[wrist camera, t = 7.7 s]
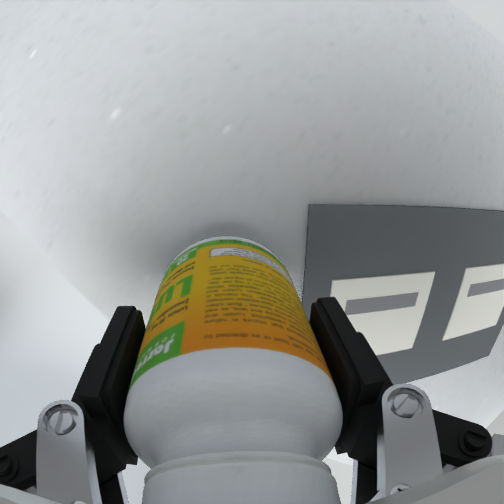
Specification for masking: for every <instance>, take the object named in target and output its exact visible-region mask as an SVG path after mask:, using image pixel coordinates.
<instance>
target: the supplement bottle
mask: <svg viewBox="0 0 504 504" xmlns="http://www.w3.org/2000/svg"><path fill="white" fill-rule="evenodd" d="M123 420H124V429H125V433H126V437H127V440H128V442H129V444H130V446H131V447H132V449H133V450H134V452H135V453H136V455H137V456H138V457H139V458H140V459H141V460H142V461H143V462H144V463H145V464H146V465H147V466H148V467H150V468H151V470H150V471H149V472H148V473H147V474H146V476H145V479H144V480H145V481H144V482H145V486H144V490H143V498H142V504H341V502H340V498H339V494H338V490H337V483H336V480H335V478H334V477H333V476H332V475H331V470H330V468H329V466H328V465H327V464H325V463H324V462H322V460H323V459H324V458H325V457H326V456H327V455H328V454H329V453H330V451H331V450H332V449H333V447H334V445H335V444H336V442H337V440H338V438H339V435H340V432H341V428H342V423H343V413H342V406H341V402H340V399H339V396H338V393H337V390H336V386H335V384H334V381H333V379H332V376H331V374H330V371H329V369H328V366H327V363H326V361H325V359H324V357H323V354H322V352H321V349H320V347H319V344H318V342H317V339H316V338H315V335H314V333H313V330H312V328H311V325H310V323H309V321H308V319H307V316H306V314H305V311H304V309H303V306H302V304H301V302H300V299H299V297H298V295H297V292H296V290H295V287H294V285H293V282H292V280H291V278H290V275H289V273H288V271H287V269H286V268H285V266H284V264H283V263H282V262H281V260H280V259H279V258H278V257H277V256H276V255H275V254H274V253H273V252H271V251H270V250H269V249H267V248H266V247H264V246H263V245H261V244H259V243H257V242H254V241H252V240H249V239H245V238H241V237H235V236H220V237H212V238H207V239H204V240H201V241H199V242H196V243H194V244H192V245H190V246H189V247H187V248H186V249H184V250H183V251H182V252H181V253H179V254H178V255H177V256H176V257H175V259H174V260H173V261H172V262H171V264H170V265H169V267H168V268H167V270H166V272H165V274H164V277H163V279H162V282H161V284H160V287H159V290H158V294H157V297H156V300H155V303H154V306H153V309H152V312H151V315H150V318H149V321H148V325H147V327H146V330H145V334H144V337H143V341H142V344H141V347H140V351H139V354H138V358H137V362H136V365H135V368H134V372H133V376H132V380H131V383H130V386H129V390H128V394H127V398H126V405H125V410H124V419H123Z"/></svg>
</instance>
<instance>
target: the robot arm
mask: <svg viewBox="0 0 504 504" xmlns="http://www.w3.org/2000/svg"><path fill="white" fill-rule="evenodd" d="M309 323H310V325H311V328H312V330H313V333H314V335H315V338H316V339H317V342H318V344H319V347H320V349H321V352H322V354H323V357H324V359H325V361H326V363H327V366H328V369H329V371H330V374H331V376H332V379H333V381H334V384H335V386H336V390H337V393H338V396H339V399H340V402H341V406H342V413H343V423H342V428H341V432H340V435H339V438H338V440H337V442H336V444H335V445H334V446H335V449H336V452H337V454H342V453H346V452H347V453H348V456H349V457H350V458H352V459H354V463H353V481H352V495H351V504H504V435H499V434H494V435H493V436H492V437H491V435H490V434H489V432H488V431H487V430H486V429H485V428H484V427H483V426H481V425H479V424H476V423H473V422H469V421H466V420H463V419H460V418H457V417H454V416H451V415H448V414H445V413H442V412H439V411H436V410H433V409H432V408H431V403H430V400H429V398H428V396H427V394H426V393H425V392H424V391H423V390H421V389H420V388H418V387H416V386H414V385H411V384H396V385H393V383H392V382H391V380H390V378H389V376H388V375H387V373H386V371H385V370H384V368H383V366H382V365H381V363H380V361H379V360H378V358H377V356H376V355H375V353H374V351H373V350H372V348H371V346H370V345H369V343H368V341H367V340H366V338H365V336H364V335H363V334H362V333H361V332H356V330H355V329H354V327H353V325H352V324H351V322H350V320H349V319H348V317H347V315H346V314H345V312H344V310H343V309H342V307H341V305H340V304H339V302H338V301H337V299H336V298H335V297H323V298H318V299H317V302H315V303H312V305H311V312H310V321H309ZM145 330H146V329H145V324H144V320H143V316H142V312H141V311H140V310H136V308H135V306H118V307H117V309H116V311H115V313H114V315H113V317H112V319H111V321H110V323H109V325H108V327H107V330H106V332H105V334H104V336H103V338H102V340H101V343H100V344H97V345H96V346H95V347H94V349H93V351H92V353H91V356H90V358H89V360H88V362H87V364H86V367H85V369H84V372H83V374H82V376H81V378H80V381H79V383H78V385H77V388H76V390H75V393H74V395H73V398H72V400H71V401H69V400H59V401H55V402H53V403H50V404H49V405H47V406H46V407H45V408H44V409H43V410H42V412H41V413H40V415H39V419H38V427H37V430H35V431H33V432H31V433H29V434H27V435H25V436H23V437H21V438H19V439H17V440H15V441H13V442H11V443H9V444H7V445H5V446H3V447H0V504H129V501H128V497H127V494H126V489H125V485H124V480H123V476H122V470H124V469H126V464H133V465H137V460H138V456H137V455H136V453H135V452H134V450H133V449H132V447H131V446H130V444H129V442H128V440H127V437H126V433H125V429H124V420H123V419H124V410H125V405H126V398H127V394H128V390H129V386H130V383H131V380H132V376H133V372H134V368H135V365H136V362H137V358H138V354H139V351H140V347H141V344H142V341H143V337H144V334H145Z"/></svg>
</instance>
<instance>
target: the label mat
mask: <svg viewBox="0 0 504 504" xmlns="http://www.w3.org/2000/svg"><path fill="white" fill-rule="evenodd" d="M323 297H335V298H336V299H337V301H338V302H339V304H340V305H341V307H342V309H343V310H344V312H345V314H346V315H347V317H348V319H349V320H350V322H351V324H352V325H353V327H354V329H355V330H356V332H361V333H362V334H363V335H364V336H365V338H366V340H367V341H368V343H369V345H370V346H371V348H372V350H373V351H374V353H375V355H376V356H377V358H378V360H379V361H380V363H381V365H382V366H383V368H384V370H385V371H386V373H387V375H388V376H389V378H390V380H391V382H392V383H393V385H396V384H403V383H407V382H411V381H414V380H418V379H421V378H425V377H428V376H432V375H435V374H438V373H441V372H444V371H447V370H450V369H453V368H456V367H459V366H462V365H465V364H467V363H470V362H473V361H476V360H478V359H481V358H483V357H486V356H488V355H489V353H490V351H491V349H492V347H493V345H494V343H495V341H496V339H497V337H498V334H499V332H500V330H501V328H502V325H503V323H504V211H495V210H481V209H465V208H447V207H424V206H394V205H309V212H308V230H307V246H306V261H305V275H304V287H303V299H302V306H303V309H304V311H305V314H306V316H307V319H308V321H310V312H311V305H312V303H315V302H317V299H318V298H323Z"/></svg>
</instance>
